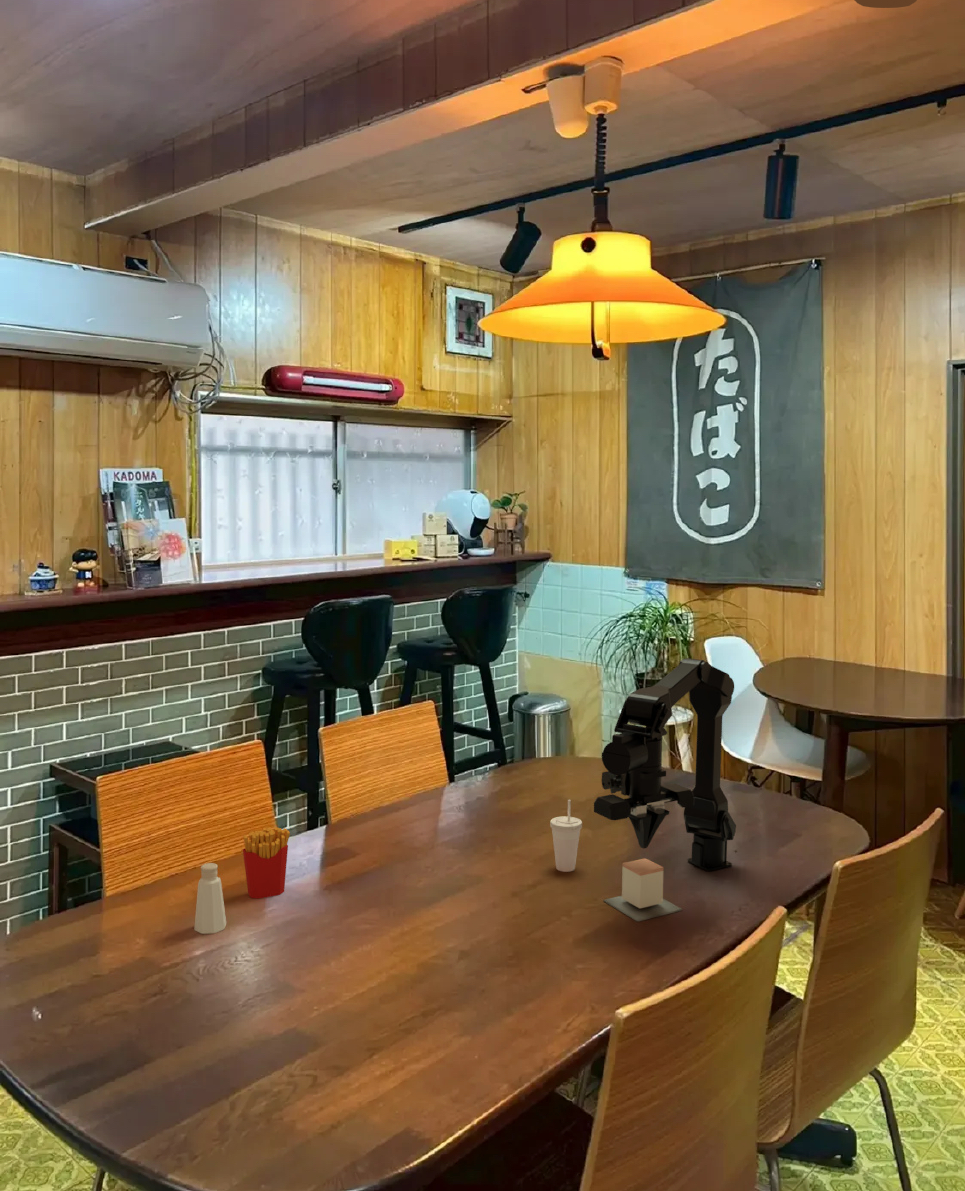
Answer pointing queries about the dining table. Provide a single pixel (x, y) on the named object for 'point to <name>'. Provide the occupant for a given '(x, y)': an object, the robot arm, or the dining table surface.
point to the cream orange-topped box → (642, 883)
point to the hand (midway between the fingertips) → (643, 847)
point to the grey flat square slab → (645, 912)
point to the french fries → (266, 861)
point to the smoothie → (565, 840)
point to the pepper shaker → (209, 902)
